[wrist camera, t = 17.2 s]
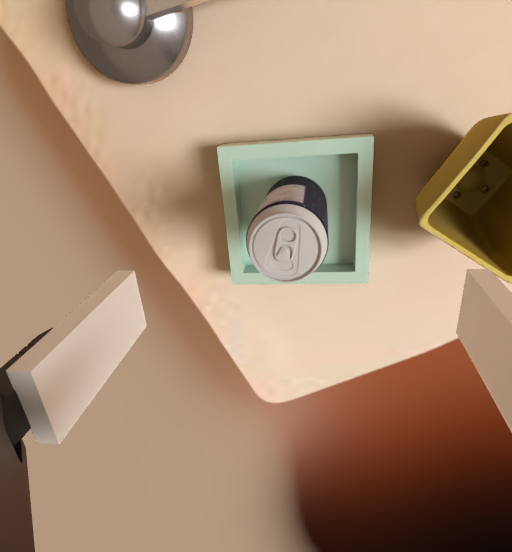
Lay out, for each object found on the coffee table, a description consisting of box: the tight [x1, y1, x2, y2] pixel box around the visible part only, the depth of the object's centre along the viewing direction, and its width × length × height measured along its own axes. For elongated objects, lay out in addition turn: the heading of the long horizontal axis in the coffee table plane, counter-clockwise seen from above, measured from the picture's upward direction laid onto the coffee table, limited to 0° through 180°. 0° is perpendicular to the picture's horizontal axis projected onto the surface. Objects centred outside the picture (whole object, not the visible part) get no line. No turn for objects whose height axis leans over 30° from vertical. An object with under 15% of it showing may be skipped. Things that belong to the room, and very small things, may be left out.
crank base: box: [66, 0, 193, 84], centre depth 32 cm, size 10×10×2 cm
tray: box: [217, 133, 374, 284], centre depth 36 cm, size 13×13×3 cm
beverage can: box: [246, 176, 329, 283], centre depth 31 cm, size 6×6×12 cm
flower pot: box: [415, 113, 512, 284], centre depth 30 cm, size 9×9×9 cm
